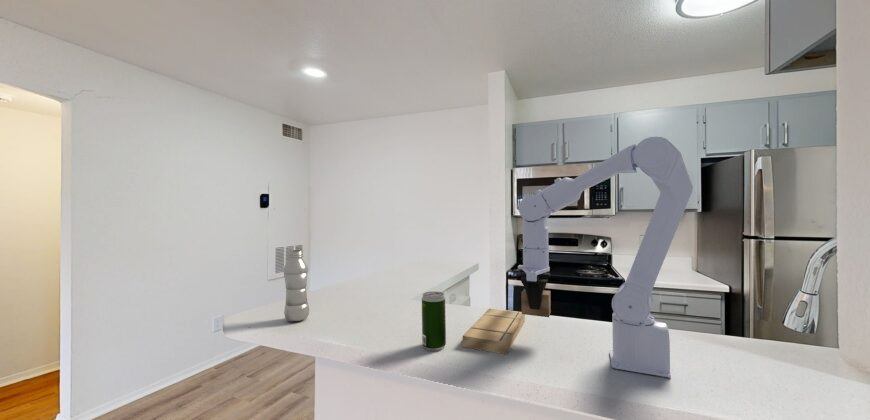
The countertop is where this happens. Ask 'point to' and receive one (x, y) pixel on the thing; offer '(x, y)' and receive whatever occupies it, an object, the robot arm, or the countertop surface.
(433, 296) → the beer can
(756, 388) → the countertop surface
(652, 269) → the robot arm
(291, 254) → the plastic bottle
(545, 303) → the walnut block
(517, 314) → the oak board
